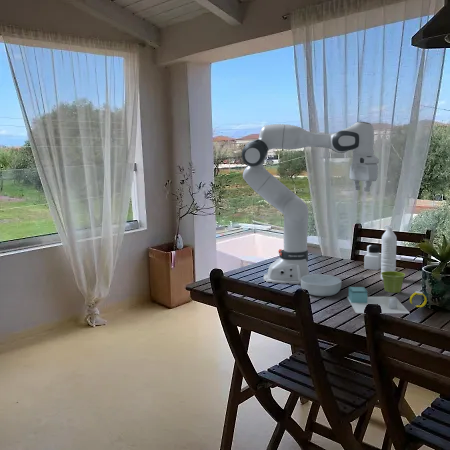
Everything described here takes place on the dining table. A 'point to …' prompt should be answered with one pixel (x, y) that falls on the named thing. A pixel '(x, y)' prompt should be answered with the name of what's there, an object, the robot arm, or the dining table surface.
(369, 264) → the medicine bottle
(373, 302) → the post base
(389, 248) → the water bottle
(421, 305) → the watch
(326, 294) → the cereal bowl
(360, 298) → the teal square box
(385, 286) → the plant pot
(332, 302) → the dining table surface
